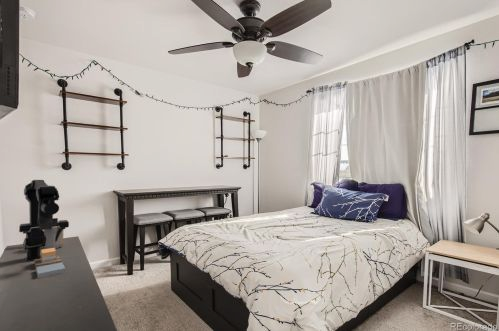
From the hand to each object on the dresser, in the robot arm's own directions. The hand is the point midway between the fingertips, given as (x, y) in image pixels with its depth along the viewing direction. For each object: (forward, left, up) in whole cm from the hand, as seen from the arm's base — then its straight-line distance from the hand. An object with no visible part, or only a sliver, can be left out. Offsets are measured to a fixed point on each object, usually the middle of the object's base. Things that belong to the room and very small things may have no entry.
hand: (44, 243), depth 123 cm
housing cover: (-6, +2, -8) cm, 10 cm away
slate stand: (+7, +2, -13) cm, 15 cm away
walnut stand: (-6, +2, -13) cm, 14 cm away
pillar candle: (-37, +7, -13) cm, 40 cm away
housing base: (-6, +2, -11) cm, 12 cm away
